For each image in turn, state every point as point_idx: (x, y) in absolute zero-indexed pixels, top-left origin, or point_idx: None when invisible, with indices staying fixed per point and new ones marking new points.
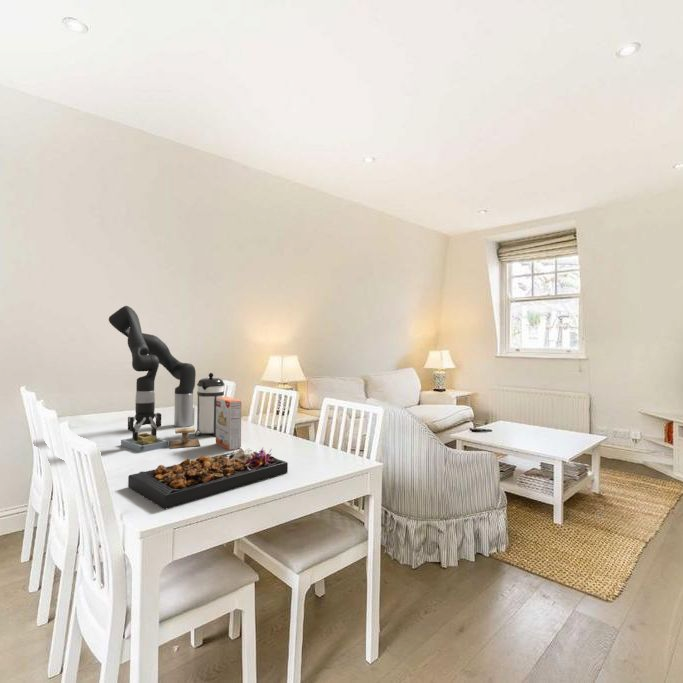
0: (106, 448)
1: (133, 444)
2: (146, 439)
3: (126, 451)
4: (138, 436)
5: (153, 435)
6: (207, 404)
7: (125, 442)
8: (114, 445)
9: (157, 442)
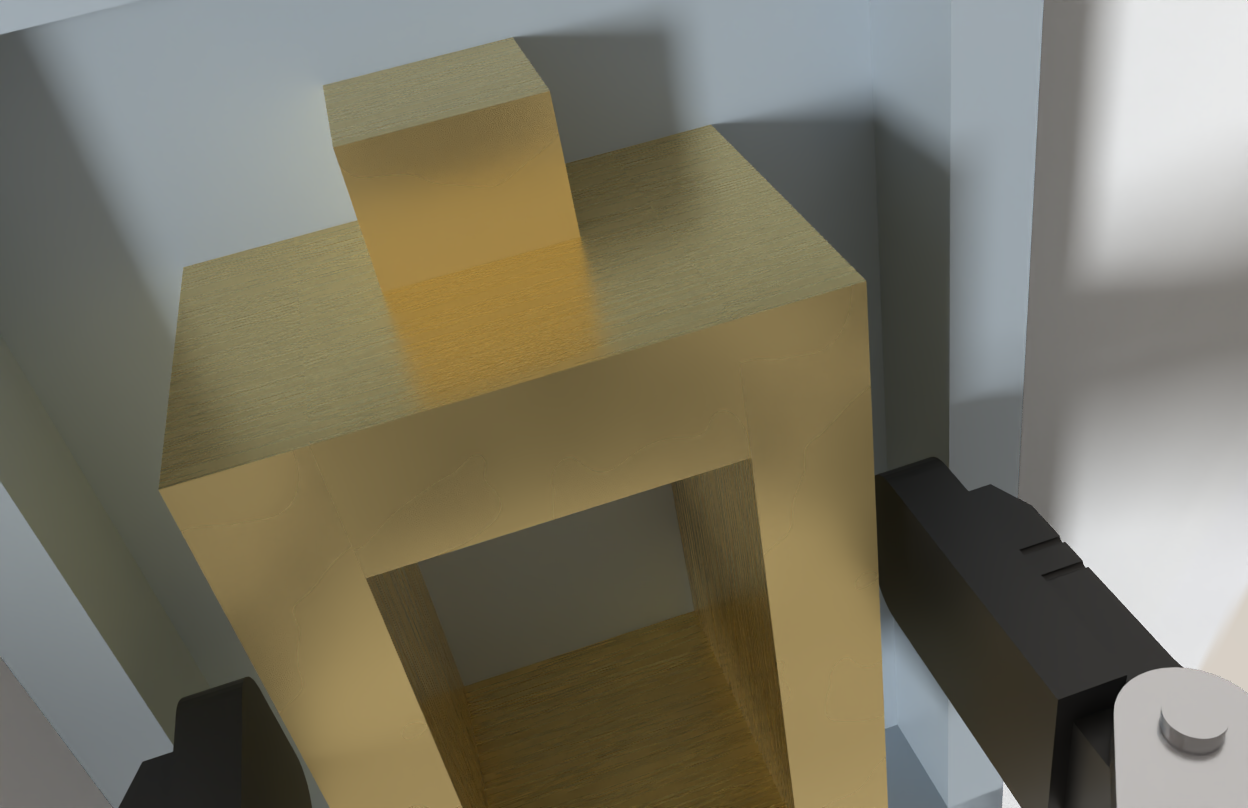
0: (1218, 603)
1: (1020, 284)
2: (689, 282)
3: (1132, 127)
4: (853, 656)
5: (303, 617)
6: None
7: None
8: None
9: (111, 536)
